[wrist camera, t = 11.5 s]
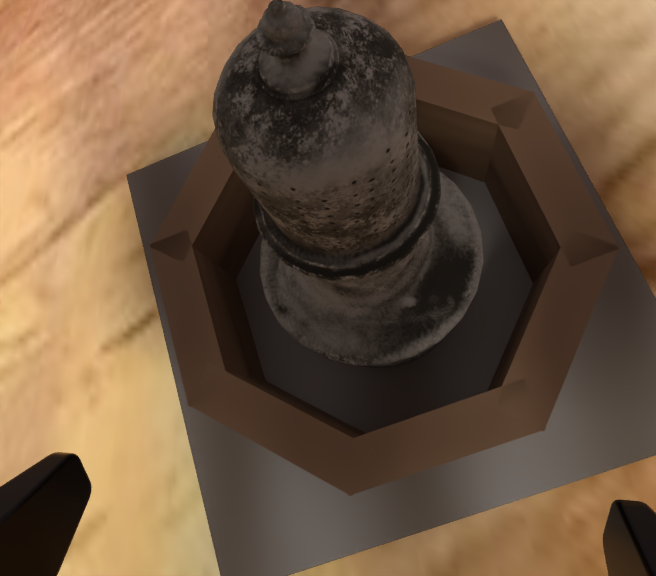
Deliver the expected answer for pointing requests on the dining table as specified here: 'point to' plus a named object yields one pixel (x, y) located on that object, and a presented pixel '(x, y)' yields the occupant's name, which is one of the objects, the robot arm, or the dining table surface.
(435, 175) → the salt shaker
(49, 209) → the dining table surface
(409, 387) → the socket
